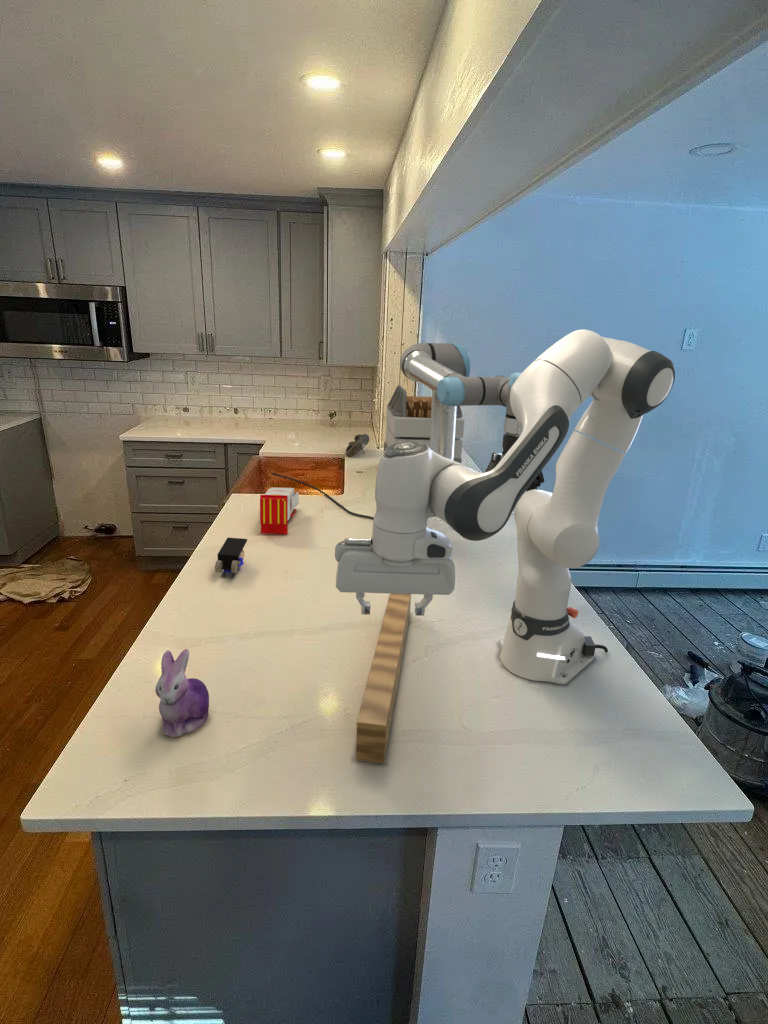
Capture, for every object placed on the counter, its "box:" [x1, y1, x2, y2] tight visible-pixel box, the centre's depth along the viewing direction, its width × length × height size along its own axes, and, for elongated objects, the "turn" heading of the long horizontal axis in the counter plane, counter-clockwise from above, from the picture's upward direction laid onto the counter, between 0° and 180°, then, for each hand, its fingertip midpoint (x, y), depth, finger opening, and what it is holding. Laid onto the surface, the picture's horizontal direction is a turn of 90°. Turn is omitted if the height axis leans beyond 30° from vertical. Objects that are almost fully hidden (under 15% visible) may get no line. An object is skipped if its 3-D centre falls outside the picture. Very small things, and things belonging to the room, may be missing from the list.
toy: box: [259, 487, 300, 535], centre depth 206 cm, size 12×13×30 cm
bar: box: [355, 593, 412, 764], centre depth 122 cm, size 53×5×8 cm, turn 173°
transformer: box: [383, 384, 465, 464], centre depth 268 cm, size 34×33×41 cm
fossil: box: [345, 433, 370, 458], centre depth 306 cm, size 22×10×15 cm
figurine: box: [154, 648, 210, 738], centre depth 104 cm, size 9×10×15 cm
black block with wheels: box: [214, 537, 248, 578], centre depth 166 cm, size 7×8×15 cm
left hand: (508, 510), depth 156 cm, fingers open, 13 cm apart
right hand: (392, 613), depth 98 cm, fingers open, 8 cm apart
